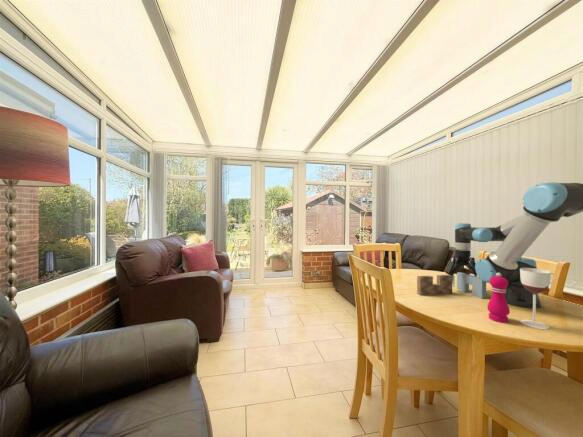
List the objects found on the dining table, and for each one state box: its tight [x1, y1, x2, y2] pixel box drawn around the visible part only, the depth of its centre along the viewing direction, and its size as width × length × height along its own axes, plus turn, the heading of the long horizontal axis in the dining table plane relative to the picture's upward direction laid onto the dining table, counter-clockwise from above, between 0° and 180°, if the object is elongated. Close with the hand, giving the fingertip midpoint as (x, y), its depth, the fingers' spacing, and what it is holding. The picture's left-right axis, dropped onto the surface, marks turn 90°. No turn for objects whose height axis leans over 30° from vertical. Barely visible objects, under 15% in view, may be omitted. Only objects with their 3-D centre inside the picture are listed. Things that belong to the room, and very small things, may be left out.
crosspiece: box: [456, 271, 487, 299], centre depth 135 cm, size 16×2×10 cm, turn 9°
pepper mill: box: [486, 273, 511, 324], centre depth 102 cm, size 7×7×20 cm
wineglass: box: [519, 268, 552, 330], centre depth 97 cm, size 9×10×22 cm
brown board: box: [416, 274, 453, 296], centre depth 135 cm, size 20×2×10 cm, turn 99°
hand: (462, 285), depth 141 cm, fingers open, 13 cm apart
